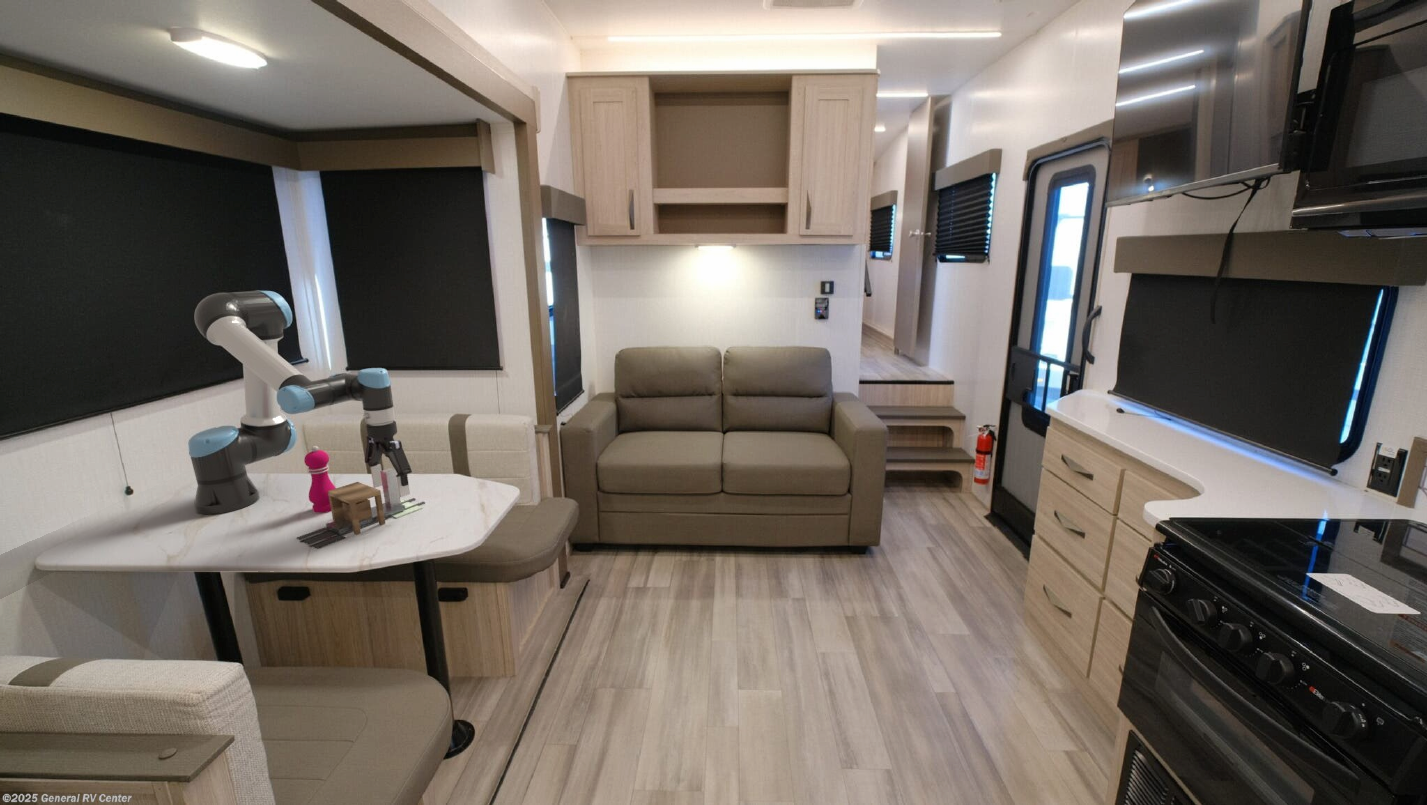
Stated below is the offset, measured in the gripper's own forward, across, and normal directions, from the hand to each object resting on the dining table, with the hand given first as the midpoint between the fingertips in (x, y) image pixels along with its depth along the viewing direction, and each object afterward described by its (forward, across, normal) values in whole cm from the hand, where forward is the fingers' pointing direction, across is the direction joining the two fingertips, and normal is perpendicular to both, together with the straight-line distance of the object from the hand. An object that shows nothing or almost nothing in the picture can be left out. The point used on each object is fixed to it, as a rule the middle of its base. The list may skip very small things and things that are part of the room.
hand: (391, 490), depth 169 cm
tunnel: (+7, 0, -10) cm, 12 cm away
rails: (+7, 0, -8) cm, 10 cm away
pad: (+7, 0, +1) cm, 7 cm away
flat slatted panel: (+7, 0, -20) cm, 21 cm away
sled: (+6, 0, -8) cm, 10 cm away
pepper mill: (+7, -19, -10) cm, 23 cm away
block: (+4, 0, -10) cm, 11 cm away
